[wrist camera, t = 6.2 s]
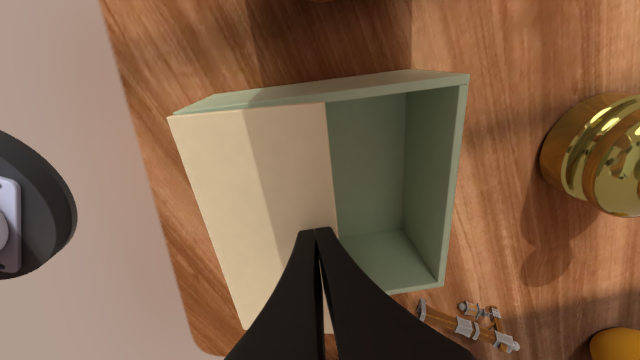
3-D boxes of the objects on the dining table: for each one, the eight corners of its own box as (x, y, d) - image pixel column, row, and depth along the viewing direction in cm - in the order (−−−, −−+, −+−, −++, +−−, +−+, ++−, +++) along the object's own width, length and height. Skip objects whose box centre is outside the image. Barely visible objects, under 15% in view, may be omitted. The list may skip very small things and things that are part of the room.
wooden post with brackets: (502, 318, 25) (518, 364, 21) (416, 291, 27) (416, 329, 23) (509, 305, 25) (527, 350, 21) (420, 278, 27) (421, 315, 23)
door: (245, 324, 15) (243, 329, 14) (171, 115, 10) (165, 117, 9) (347, 329, 14) (347, 334, 13) (324, 100, 9) (324, 102, 8)
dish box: (257, 250, 20) (244, 318, 15) (214, 93, 15) (172, 112, 10) (405, 228, 21) (443, 286, 15) (410, 68, 16) (470, 73, 10)
